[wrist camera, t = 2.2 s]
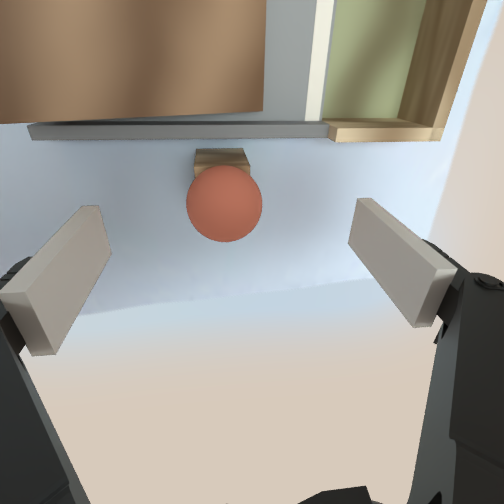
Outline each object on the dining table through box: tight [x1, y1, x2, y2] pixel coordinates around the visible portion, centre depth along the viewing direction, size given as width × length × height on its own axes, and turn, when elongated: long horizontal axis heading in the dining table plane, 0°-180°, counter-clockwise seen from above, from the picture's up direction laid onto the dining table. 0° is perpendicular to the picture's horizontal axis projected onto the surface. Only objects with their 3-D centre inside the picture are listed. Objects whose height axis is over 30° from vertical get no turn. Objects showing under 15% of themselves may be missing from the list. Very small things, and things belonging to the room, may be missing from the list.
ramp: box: [0, 0, 267, 124], centre depth 14 cm, size 14×8×6 cm, turn 89°
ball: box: [186, 165, 262, 242], centre depth 17 cm, size 4×4×4 cm
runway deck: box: [27, 0, 337, 140], centre depth 17 cm, size 18×11×3 cm, turn 89°
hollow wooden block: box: [194, 148, 250, 178], centre depth 21 cm, size 3×3×5 cm
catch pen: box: [322, 0, 487, 142], centre depth 18 cm, size 7×11×4 cm, turn 179°
